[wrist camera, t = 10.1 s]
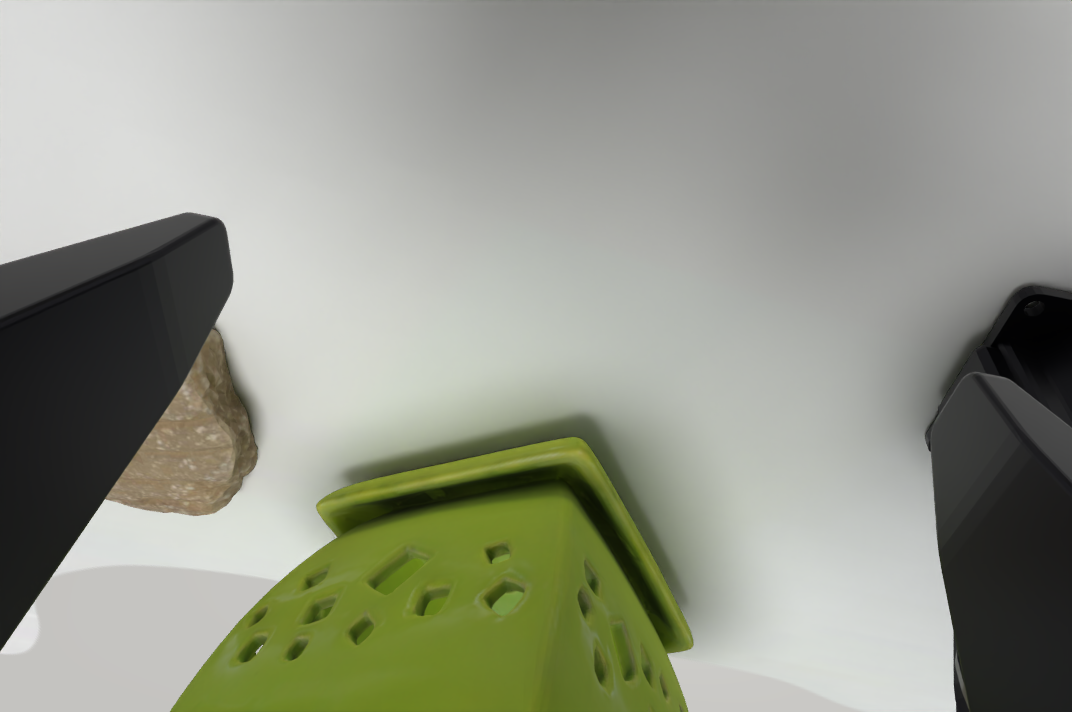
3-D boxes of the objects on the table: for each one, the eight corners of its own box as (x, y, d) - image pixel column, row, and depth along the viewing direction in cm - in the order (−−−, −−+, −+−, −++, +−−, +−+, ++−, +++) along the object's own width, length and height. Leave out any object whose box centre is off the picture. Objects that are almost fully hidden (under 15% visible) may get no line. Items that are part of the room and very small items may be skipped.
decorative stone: (-122, 292, 31) (-202, 343, 28) (228, 309, 28) (177, 367, 25) (-3, 465, 37) (-59, 520, 34) (296, 493, 34) (260, 555, 31)
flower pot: (606, 374, 26) (545, 739, 17) (729, 611, 33) (739, 970, 23) (298, 455, 32) (115, 764, 22) (459, 644, 39) (374, 945, 29)
